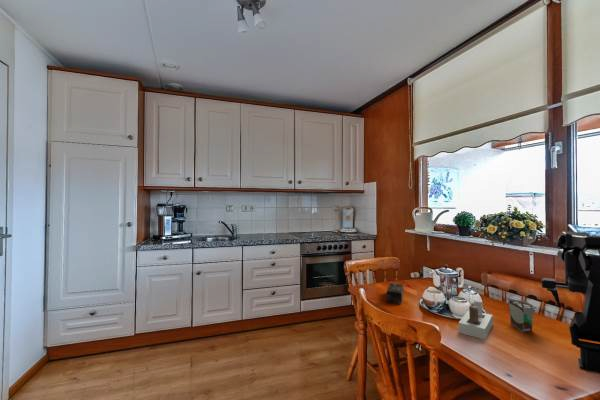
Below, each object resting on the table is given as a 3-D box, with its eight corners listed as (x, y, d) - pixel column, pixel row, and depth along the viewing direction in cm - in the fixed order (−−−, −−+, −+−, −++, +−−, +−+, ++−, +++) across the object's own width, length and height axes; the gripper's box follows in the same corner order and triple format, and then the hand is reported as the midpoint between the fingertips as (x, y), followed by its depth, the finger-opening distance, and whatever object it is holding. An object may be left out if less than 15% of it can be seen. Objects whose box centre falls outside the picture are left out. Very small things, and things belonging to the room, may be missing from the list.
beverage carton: (404, 294, 162) (403, 283, 163) (401, 305, 145) (401, 292, 145) (389, 293, 166) (389, 281, 166) (385, 303, 148) (385, 290, 148)
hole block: (485, 339, 107) (485, 328, 107) (458, 332, 113) (458, 322, 113) (492, 324, 120) (492, 315, 120) (468, 318, 126) (468, 310, 126)
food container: (543, 335, 109) (542, 309, 109) (525, 334, 110) (524, 308, 111) (524, 322, 121) (524, 299, 122) (508, 321, 123) (508, 298, 123)
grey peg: (482, 327, 118) (481, 303, 118) (473, 325, 120) (473, 301, 120) (483, 324, 120) (482, 301, 120) (475, 322, 122) (474, 299, 122)
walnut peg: (479, 332, 113) (478, 307, 113) (477, 334, 111) (477, 309, 111) (470, 329, 115) (470, 305, 115) (469, 332, 113) (468, 307, 113)
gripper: (541, 267, 100) (542, 311, 100) (619, 275, 88) (621, 325, 88) (541, 262, 109) (542, 303, 108) (612, 269, 97) (614, 314, 96)
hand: (577, 311), depth 100 cm, fingers open, 9 cm apart
